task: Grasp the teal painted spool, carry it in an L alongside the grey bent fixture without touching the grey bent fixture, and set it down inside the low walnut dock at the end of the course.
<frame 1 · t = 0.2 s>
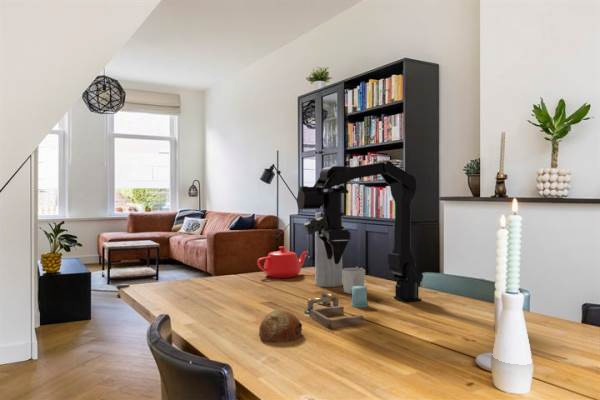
hand: (332, 261, 135), 14 cm above the table, fingers open, 9 cm apart
dock: (338, 319, 122), on the table
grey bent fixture: (335, 309, 133), on the table
cup: (353, 294, 154), on the table
spool: (359, 305, 138), on the table
bread roll: (280, 337, 108), on the table
teapot: (284, 276, 188), on the table
vase: (328, 285, 169), on the table
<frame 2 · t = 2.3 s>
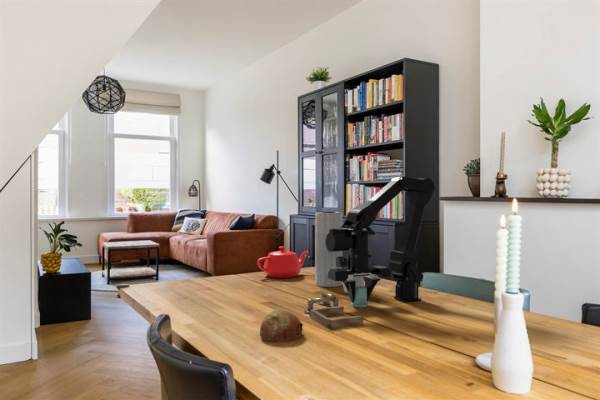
hand: (359, 301, 138), 1 cm above the table, fingers closed on spool, 4 cm apart
spool: (359, 305, 138), on the table, touching gripper
everything else where it was.
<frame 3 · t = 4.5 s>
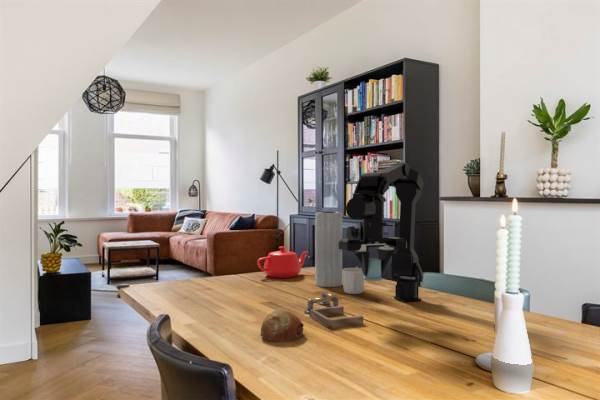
hand: (372, 275, 125), 11 cm above the table, fingers closed on spool, 4 cm apart
spool: (372, 279, 125), point 10 cm above the table, touching gripper
everything else where it was.
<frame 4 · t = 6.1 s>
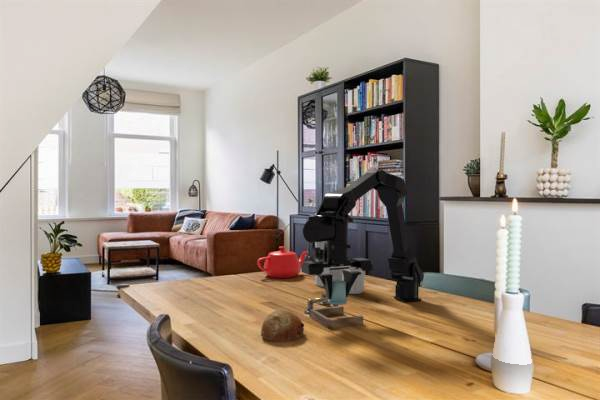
hand: (337, 298, 122), 6 cm above the table, fingers closed on spool, 4 cm apart
spool: (337, 302, 122), point 5 cm above the table, touching gripper
everything else where it was.
when the fingers open (3 cm above the table, at t = 7.0 s): spool drops 2 cm, on the table.
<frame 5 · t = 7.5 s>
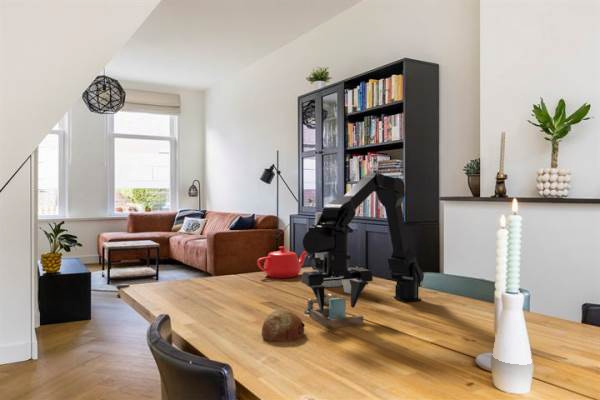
hand: (337, 308, 122), 3 cm above the table, fingers open, 9 cm apart
spool: (337, 320, 122), on the table
everything else where it was.
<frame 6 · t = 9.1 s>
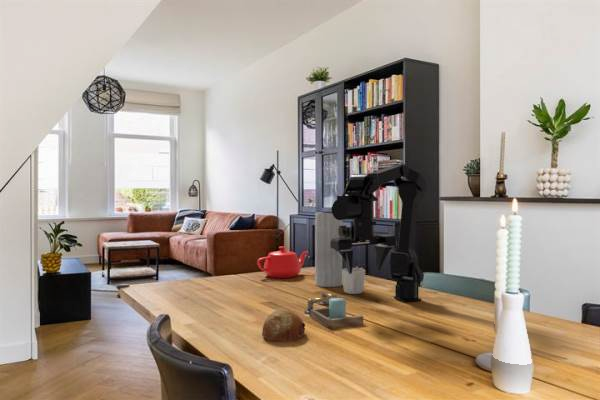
hand: (364, 272, 130), 11 cm above the table, fingers open, 9 cm apart
nothing on the table moved.
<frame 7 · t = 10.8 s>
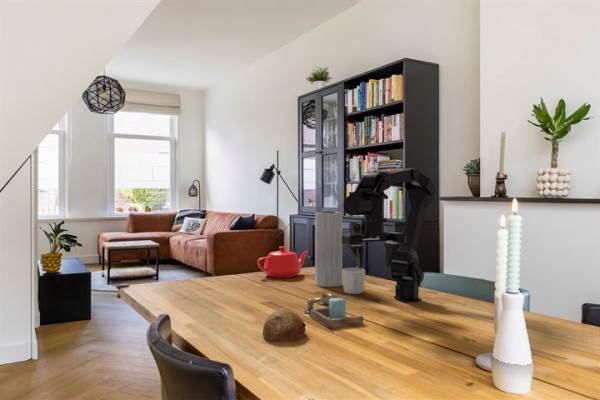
hand: (373, 267, 134), 12 cm above the table, fingers open, 9 cm apart
nothing on the table moved.
at the end: spool inside the target area on the dock (0.5 cm from its centre), point 0.0 cm above the dock's base; spool tilted 0°; spool touching table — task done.
